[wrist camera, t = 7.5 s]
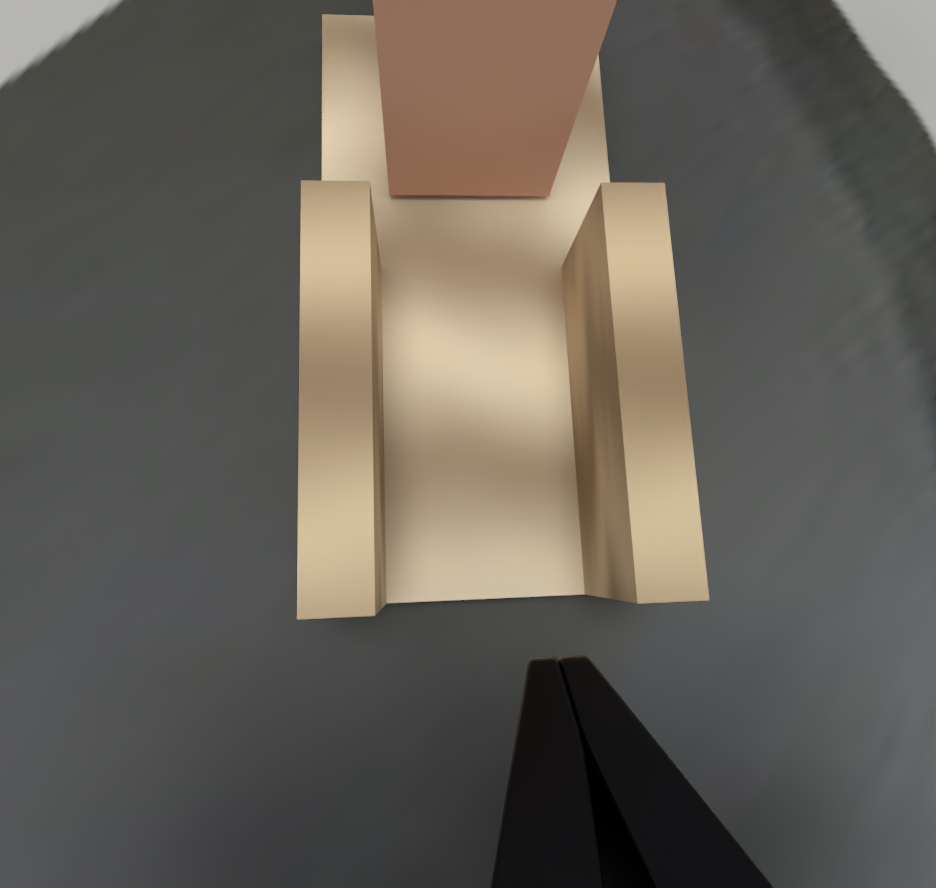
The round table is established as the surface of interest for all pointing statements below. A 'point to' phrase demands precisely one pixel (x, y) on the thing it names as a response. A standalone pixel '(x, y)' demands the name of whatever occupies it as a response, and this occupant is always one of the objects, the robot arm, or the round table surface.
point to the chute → (486, 377)
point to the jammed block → (483, 90)
